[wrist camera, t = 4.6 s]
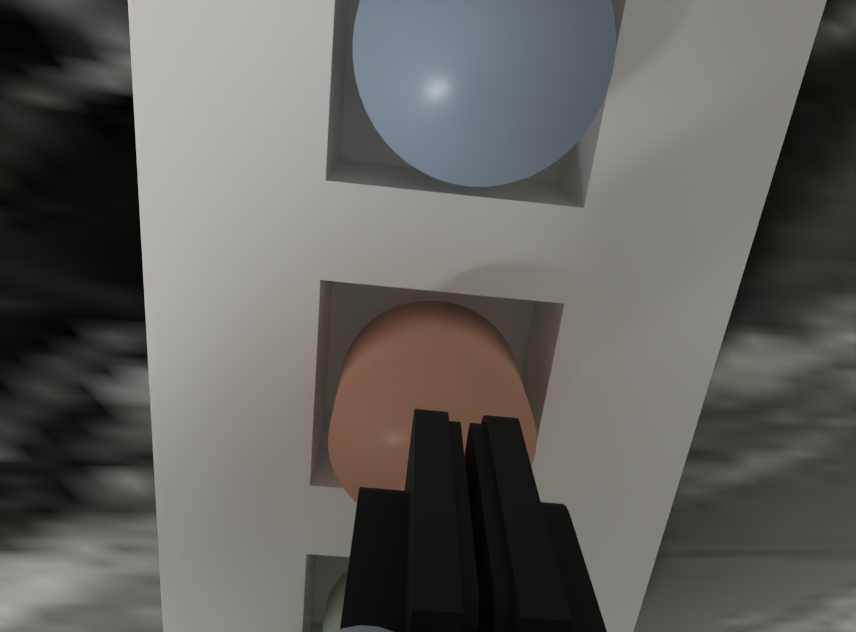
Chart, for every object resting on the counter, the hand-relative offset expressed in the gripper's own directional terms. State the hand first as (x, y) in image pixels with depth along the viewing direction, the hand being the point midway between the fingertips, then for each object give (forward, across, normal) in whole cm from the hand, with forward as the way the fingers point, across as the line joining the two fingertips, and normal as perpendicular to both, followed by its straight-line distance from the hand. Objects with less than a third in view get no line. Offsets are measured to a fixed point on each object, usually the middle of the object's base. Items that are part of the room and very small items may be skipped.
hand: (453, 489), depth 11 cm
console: (+7, 0, 0) cm, 7 cm away
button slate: (+5, 0, -7) cm, 8 cm away
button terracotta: (+5, 0, 0) cm, 5 cm away
